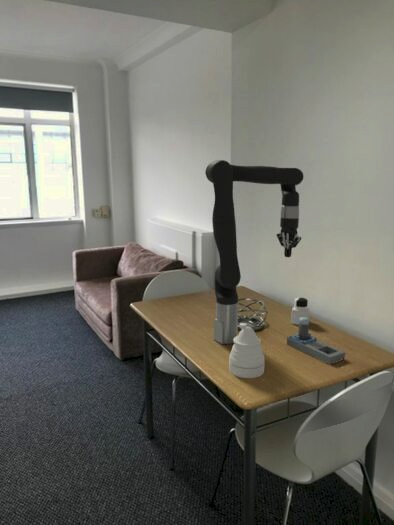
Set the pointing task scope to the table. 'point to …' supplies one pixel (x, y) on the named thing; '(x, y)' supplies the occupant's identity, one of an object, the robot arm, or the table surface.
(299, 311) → the medicine bottle
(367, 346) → the table surface
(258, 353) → the honey pot
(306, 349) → the gray socket base
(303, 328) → the plug
